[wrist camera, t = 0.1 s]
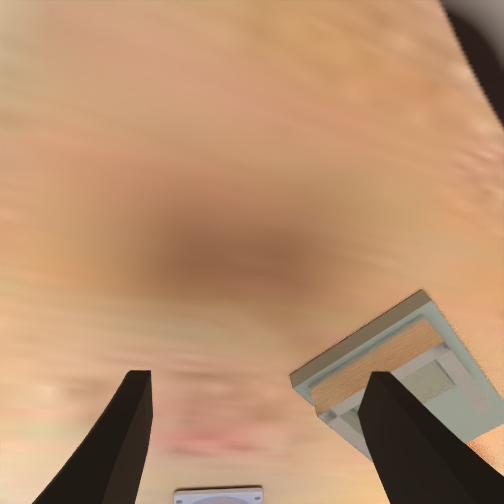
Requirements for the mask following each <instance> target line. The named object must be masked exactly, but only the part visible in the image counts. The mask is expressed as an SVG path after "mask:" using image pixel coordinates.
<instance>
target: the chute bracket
mask: <svg viewBox="0 0 504 504" xmlns="http://www.w3.org/2000/svg"><path fill="white" fill-rule="evenodd" d="M435 359H437V361H438V362H439V363H440V364H441V366H442V367H443V368H444V370H445V371H446V372H447V373H448V375H449V376H450V377H451V378H452V380H453V381H454V382H455V383H456V385H457V386H458V387H459V389H460V390H461V391H462V392H463V394H464V395H465V396H466V397H467V399H468V400H469V401H470V402H471V404H472V405H473V406H474V408H475V409H476V410H477V411H478V413H479V414H480V413H482V412H483V411H485V410H487V409H489V408H491V407H493V406H492V404H491V403H490V401H489V400H488V399H487V397H486V396H485V395H484V393H483V392H482V391H481V389H480V388H479V387H478V385H477V384H476V383H475V381H474V380H473V379H472V377H471V376H470V375H469V373H468V372H467V370H466V369H465V368H464V366H463V365H462V364H461V362H460V361H459V360H458V358H457V357H456V356H455V354H454V353H453V352H452V350H451V349H450V348H449V346H448V345H447V343H446V342H445V341H444V340H443V338H442V337H441V336H440V335H439V334H438V332H437V331H436V330H435V329H434V328H433V327H432V325H431V324H430V323H429V322H428V321H427V320H426V318H425V317H424V316H423V315H422V314H420V315H418V316H417V317H415V318H414V319H412V320H410V321H409V322H407V323H406V324H404V325H403V326H401V327H399V328H398V329H396V330H395V331H393V332H391V333H390V334H388V335H387V336H385V337H384V338H382V339H380V340H379V341H377V342H376V343H374V344H372V345H371V346H369V347H368V348H366V349H365V350H363V351H361V352H360V353H358V354H357V355H355V356H353V357H352V358H350V359H349V360H347V361H346V362H344V363H342V364H341V365H339V366H338V367H336V368H334V369H333V370H331V371H330V372H328V373H326V374H325V375H323V376H322V377H320V378H319V379H317V380H315V381H314V382H312V383H311V384H309V385H308V386H309V389H310V393H311V396H312V400H313V403H314V406H315V410H316V413H317V417H319V418H320V419H321V420H322V421H323V422H325V423H326V424H327V425H328V426H330V427H331V428H332V429H333V430H334V431H336V432H337V433H338V434H339V435H340V436H342V437H343V438H344V439H345V440H346V441H348V442H349V443H350V444H351V445H352V446H354V447H355V448H356V449H357V450H359V451H360V452H361V453H362V454H363V455H365V456H366V457H367V458H368V459H369V460H371V461H372V462H373V460H372V458H371V455H370V453H369V450H368V448H367V445H366V442H365V439H364V435H363V432H362V428H361V425H360V421H359V417H358V413H357V411H356V410H355V409H354V408H353V407H355V408H356V409H357V410H359V407H360V404H361V401H362V398H363V395H364V392H365V390H366V387H367V384H368V381H369V378H370V375H371V372H372V371H389V372H390V373H391V374H392V375H394V376H395V377H396V378H397V379H398V380H399V381H400V382H401V383H402V384H403V385H404V386H405V387H406V388H407V389H408V390H409V391H410V392H411V393H412V394H413V395H414V396H415V397H416V398H417V399H418V400H419V401H420V402H421V403H422V404H424V403H426V402H428V401H429V400H431V399H433V398H435V397H437V396H438V395H440V394H442V393H444V392H446V391H447V390H449V389H451V388H453V387H454V385H453V383H452V382H451V381H450V380H449V378H448V377H447V376H446V375H445V373H444V372H443V371H442V370H441V368H440V367H439V366H438V365H437V363H436V362H435V361H434V360H435Z"/></svg>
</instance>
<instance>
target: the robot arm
mask: <svg viewBox="0 0 504 504" xmlns="http://www.w3.org/2000/svg"><path fill="white" fill-rule="evenodd" d="M357 413H358V417H359V421H360V425H361V428H362V432H363V435H364V439H365V442H366V445H367V448H368V450H369V453H370V455H371V458H372V460H373V463H374V465H375V468H376V470H377V473H378V475H379V477H380V480H381V482H382V485H383V487H384V490H385V492H386V494H387V497H388V499H389V502H390V504H504V476H502V475H501V474H500V473H499V472H497V471H496V470H495V469H494V468H493V467H491V466H490V465H489V464H488V463H486V462H485V461H484V460H483V459H482V458H481V457H480V456H478V455H477V454H476V453H475V452H474V451H473V450H472V449H470V448H469V447H468V446H467V445H466V444H465V443H464V442H462V441H461V440H460V439H459V438H458V437H457V436H456V435H455V434H454V433H453V432H451V431H450V430H449V429H448V428H447V427H446V426H445V425H444V424H443V423H442V422H441V421H440V420H439V419H438V418H437V417H436V416H434V415H433V414H432V413H431V412H430V411H429V410H428V409H427V408H426V407H425V406H424V405H423V404H422V403H421V402H420V401H419V400H418V399H417V398H416V397H415V396H414V395H413V394H412V393H411V392H410V391H409V390H408V389H407V388H406V387H405V386H404V385H403V384H402V383H401V382H400V381H399V380H398V379H397V378H396V377H395V376H394V375H392V374H391V373H390V372H389V371H372V372H371V375H370V378H369V381H368V384H367V387H366V390H365V392H364V395H363V398H362V401H361V404H360V407H359V410H358V412H357ZM152 419H153V405H152V384H151V370H130V371H129V372H128V373H127V374H126V376H125V378H124V379H123V381H122V383H121V385H120V386H119V388H118V390H117V391H116V393H115V395H114V396H113V398H112V399H111V401H110V402H109V404H108V405H107V407H106V409H105V410H104V412H103V413H102V414H101V416H100V417H99V419H98V420H97V422H96V423H95V425H94V426H93V427H92V429H91V430H90V432H89V433H88V435H87V436H86V437H85V439H84V440H83V441H82V443H81V444H80V445H79V447H78V448H77V449H76V450H75V452H74V453H73V454H72V456H71V457H70V458H69V460H68V461H67V462H66V463H65V465H64V466H63V467H62V469H61V470H60V471H59V472H58V474H57V475H56V476H55V477H54V478H53V480H52V481H51V482H50V483H49V484H48V486H47V487H46V488H45V489H44V490H43V491H42V493H41V494H40V495H39V496H38V497H37V498H36V500H35V501H34V502H33V503H32V504H135V500H136V496H137V492H138V488H139V484H140V480H141V476H142V472H143V468H144V464H145V460H146V456H147V451H148V446H149V439H150V433H151V426H152ZM262 499H263V489H262V488H238V489H215V490H191V491H177V492H175V493H174V497H173V504H262Z"/></svg>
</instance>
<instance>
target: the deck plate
mask: <svg viewBox="0 0 504 504" xmlns="http://www.w3.org/2000/svg"><path fill="white" fill-rule="evenodd" d="M420 314H422V315H423V316H424V317H425V318H426V320H427V321H428V322H429V323H430V324H431V325H432V327H433V328H434V329H435V330H436V331H437V332H438V334H439V335H440V336H441V337H442V338H443V340H444V341H445V342H446V343H447V345H448V346H449V348H450V349H451V350H452V352H453V353H454V354H455V356H456V357H457V358H458V360H459V361H460V362H461V364H462V365H463V366H464V368H465V369H466V370H467V372H468V373H469V375H470V376H471V377H472V379H473V380H474V381H475V383H476V384H477V385H478V387H479V388H480V389H481V391H482V392H483V393H484V395H485V396H486V397H487V399H488V400H489V401H490V403H491V404H492V406H493V407H491V408H489V409H487V410H485V411H483V412H482V413H480V414H479V413H478V411H477V410H476V409H475V408H474V406H473V405H472V404H471V402H470V401H469V400H468V399H467V397H466V396H465V395H464V394H463V392H462V391H461V390H460V389H459V387H458V386H457V385H456V383H455V382H454V381H453V380H452V378H451V377H450V376H449V375H448V373H447V372H446V371H445V370H444V368H443V367H442V366H441V364H440V363H439V362H438V361H437V359H435V360H434V361H435V362H436V363H437V365H438V366H439V367H440V368H441V370H442V371H443V372H444V373H445V375H446V376H447V377H448V378H449V380H450V381H451V382H452V383H453V385H454V387H453V388H451V389H449V390H447V391H446V392H444V393H442V394H440V395H438V396H437V397H435V398H433V399H431V400H429V401H428V402H426V403H424V404H423V405H424V406H425V407H426V408H427V409H428V410H429V411H430V412H431V413H432V414H433V415H434V416H436V417H437V418H438V419H439V420H440V421H441V422H442V423H443V424H444V425H445V426H446V427H447V428H448V429H449V430H450V431H451V432H453V433H454V434H455V435H456V436H457V437H458V438H459V439H460V440H461V441H462V442H464V443H467V442H469V441H471V440H473V439H475V438H476V437H478V436H480V435H482V434H484V433H486V432H488V431H490V430H492V429H494V428H496V427H498V426H500V425H502V424H504V401H503V400H502V398H501V397H500V396H499V394H498V393H497V391H496V390H495V389H494V387H493V386H492V384H491V383H490V381H489V380H488V379H487V377H486V376H485V374H484V373H483V372H482V370H481V369H480V367H479V366H478V364H477V363H476V362H475V360H474V359H473V357H472V356H471V355H470V353H469V352H468V350H467V349H466V347H465V346H464V345H463V343H462V342H461V340H460V339H459V338H458V336H457V335H456V333H455V332H454V330H453V329H452V328H451V326H450V325H449V323H448V322H447V321H446V319H445V318H444V316H443V315H442V314H441V312H440V311H439V309H438V308H437V306H436V305H435V304H434V302H433V301H432V300H431V298H430V297H429V296H428V295H427V294H426V293H425V292H424V291H423V290H420V291H419V292H417V293H416V294H414V295H413V296H411V297H409V298H408V299H406V300H405V301H403V302H402V303H400V304H399V305H397V306H396V307H394V308H393V309H391V310H389V311H388V312H386V313H385V314H383V315H382V316H380V317H379V318H377V319H376V320H374V321H373V322H371V323H369V324H368V325H366V326H365V327H363V328H362V329H360V330H359V331H357V332H356V333H354V334H353V335H351V336H349V337H348V338H346V339H345V340H343V341H342V342H340V343H339V344H337V345H336V346H334V347H332V348H331V349H329V350H328V351H326V352H325V353H323V354H322V355H320V356H319V357H317V358H316V359H314V360H312V361H311V362H309V363H308V364H306V365H305V366H303V367H302V368H300V369H299V370H297V371H296V372H294V373H292V374H291V375H290V379H291V384H292V388H293V389H294V390H295V391H296V392H297V393H298V394H300V395H301V396H302V397H303V398H304V399H306V400H307V401H308V402H309V403H310V404H311V405H313V406H314V403H313V400H312V396H311V393H310V389H309V386H308V385H309V384H311V383H312V382H314V381H315V380H317V379H319V378H320V377H322V376H323V375H325V374H326V373H328V372H330V371H331V370H333V369H334V368H336V367H338V366H339V365H341V364H342V363H344V362H346V361H347V360H349V359H350V358H352V357H353V356H355V355H357V354H358V353H360V352H361V351H363V350H365V349H366V348H368V347H369V346H371V345H372V344H374V343H376V342H377V341H379V340H380V339H382V338H384V337H385V336H387V335H388V334H390V333H391V332H393V331H395V330H396V329H398V328H399V327H401V326H403V325H404V324H406V323H407V322H409V321H410V320H412V319H414V318H415V317H417V316H418V315H420ZM314 407H315V406H314ZM353 408H354V409H355V410H356V411H357V412H358V410H357V409H356V408H355V407H353Z"/></svg>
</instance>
